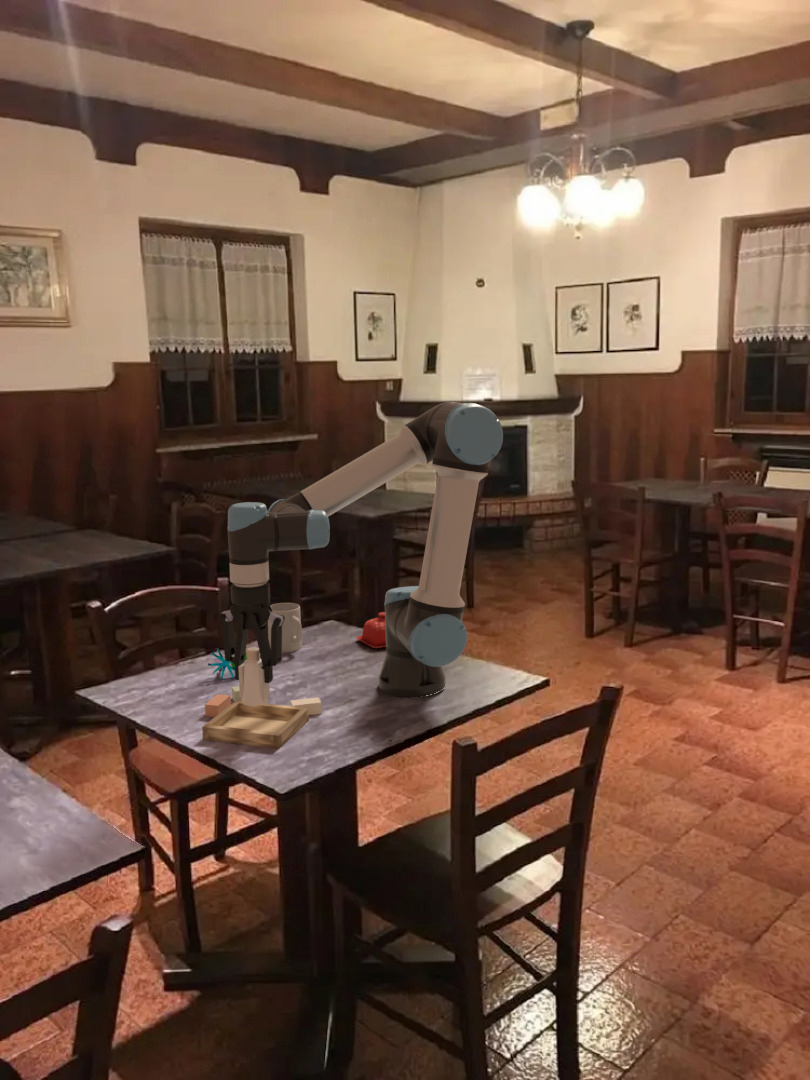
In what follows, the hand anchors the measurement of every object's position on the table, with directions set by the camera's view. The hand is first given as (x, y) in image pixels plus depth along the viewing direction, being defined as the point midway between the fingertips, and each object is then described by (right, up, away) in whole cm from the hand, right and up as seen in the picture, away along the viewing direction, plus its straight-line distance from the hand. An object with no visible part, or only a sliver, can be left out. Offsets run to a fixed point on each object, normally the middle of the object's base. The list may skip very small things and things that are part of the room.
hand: (254, 696), depth 180 cm
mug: (0, +3, +53) cm, 53 cm away
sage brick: (-5, -4, +19) cm, 20 cm away
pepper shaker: (0, -1, 0) cm, 1 cm away
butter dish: (+24, +4, +57) cm, 62 cm away
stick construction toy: (-10, -2, +33) cm, 35 cm away
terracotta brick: (-10, -6, +12) cm, 16 cm away
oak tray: (0, -7, +1) cm, 7 cm away
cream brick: (+9, -6, +10) cm, 15 cm away
